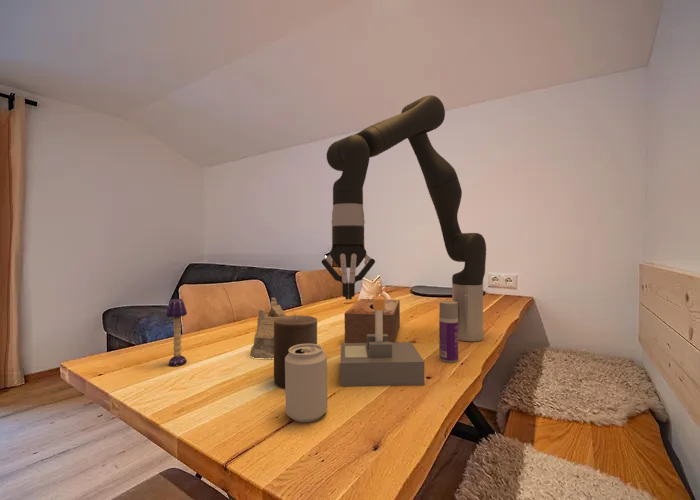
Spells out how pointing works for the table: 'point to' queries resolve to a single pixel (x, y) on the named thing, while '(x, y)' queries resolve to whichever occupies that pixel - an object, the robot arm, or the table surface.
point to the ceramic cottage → (266, 331)
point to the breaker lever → (378, 317)
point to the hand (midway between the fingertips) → (348, 298)
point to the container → (448, 331)
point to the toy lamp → (177, 329)
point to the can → (306, 382)
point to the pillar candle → (291, 340)
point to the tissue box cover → (371, 320)
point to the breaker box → (380, 363)
